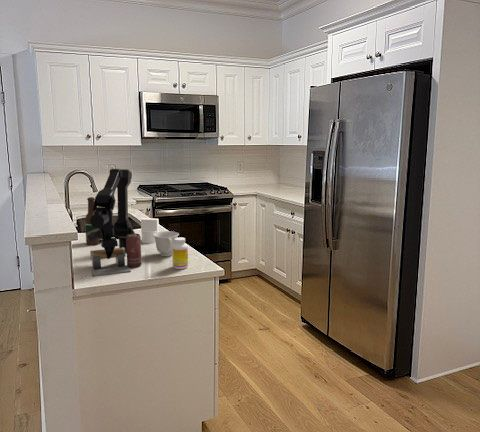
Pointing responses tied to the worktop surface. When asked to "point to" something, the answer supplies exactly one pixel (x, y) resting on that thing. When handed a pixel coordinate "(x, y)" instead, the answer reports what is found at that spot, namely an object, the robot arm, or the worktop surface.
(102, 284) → the worktop surface
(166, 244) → the teacup
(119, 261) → the post
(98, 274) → the mat
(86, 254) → the worktop surface
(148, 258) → the worktop surface
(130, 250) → the can
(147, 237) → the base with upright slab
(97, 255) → the rail
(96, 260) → the post
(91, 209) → the beer bottle
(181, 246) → the supplement bottle
